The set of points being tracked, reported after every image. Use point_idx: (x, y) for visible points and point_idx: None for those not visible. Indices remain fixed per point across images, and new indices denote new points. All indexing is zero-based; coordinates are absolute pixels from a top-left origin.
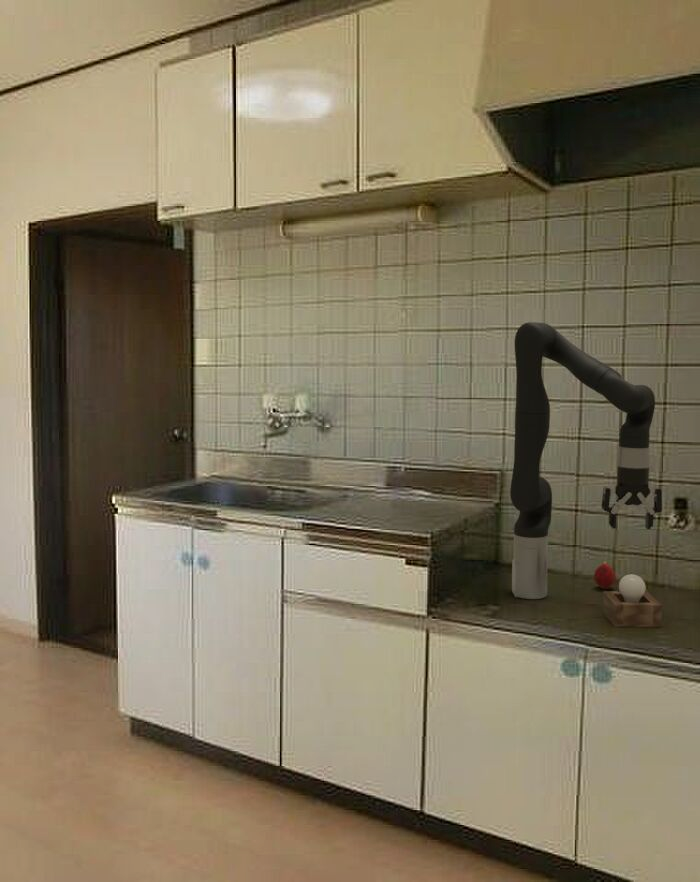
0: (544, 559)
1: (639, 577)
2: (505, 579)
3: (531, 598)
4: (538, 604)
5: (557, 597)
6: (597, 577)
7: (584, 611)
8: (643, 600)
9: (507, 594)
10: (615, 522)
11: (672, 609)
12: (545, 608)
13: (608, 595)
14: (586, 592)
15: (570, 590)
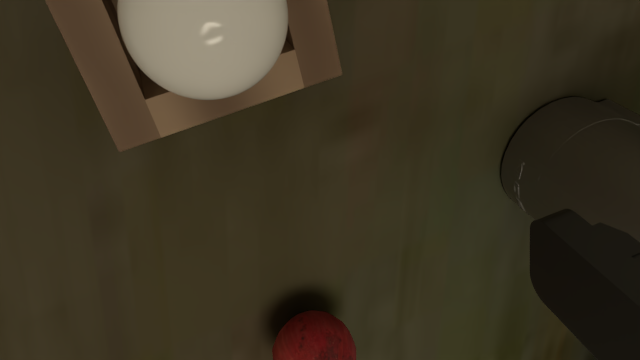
0: (631, 212)
1: (166, 27)
2: None
3: (561, 99)
4: (543, 51)
5: (466, 162)
6: (343, 328)
7: (383, 22)
8: (131, 62)
9: None
10: (593, 257)
11: (4, 195)
12: (527, 8)
13: (320, 5)
14: (362, 259)
15: (414, 256)
